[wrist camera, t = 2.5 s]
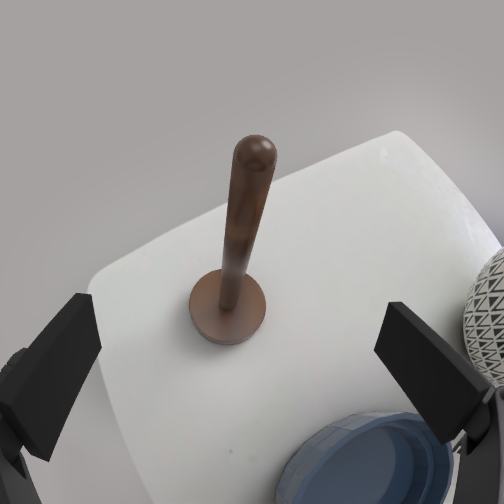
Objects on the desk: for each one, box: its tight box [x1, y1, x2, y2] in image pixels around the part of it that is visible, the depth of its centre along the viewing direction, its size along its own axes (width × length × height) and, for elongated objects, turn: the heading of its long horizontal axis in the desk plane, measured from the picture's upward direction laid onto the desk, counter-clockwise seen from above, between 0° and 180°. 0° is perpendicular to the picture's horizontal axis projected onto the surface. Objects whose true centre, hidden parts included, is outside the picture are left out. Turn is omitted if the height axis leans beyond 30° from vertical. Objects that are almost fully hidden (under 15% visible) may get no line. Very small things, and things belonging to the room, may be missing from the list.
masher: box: [189, 135, 278, 345], centre depth 18 cm, size 7×7×21 cm
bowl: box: [275, 412, 454, 504], centre depth 17 cm, size 17×17×6 cm
